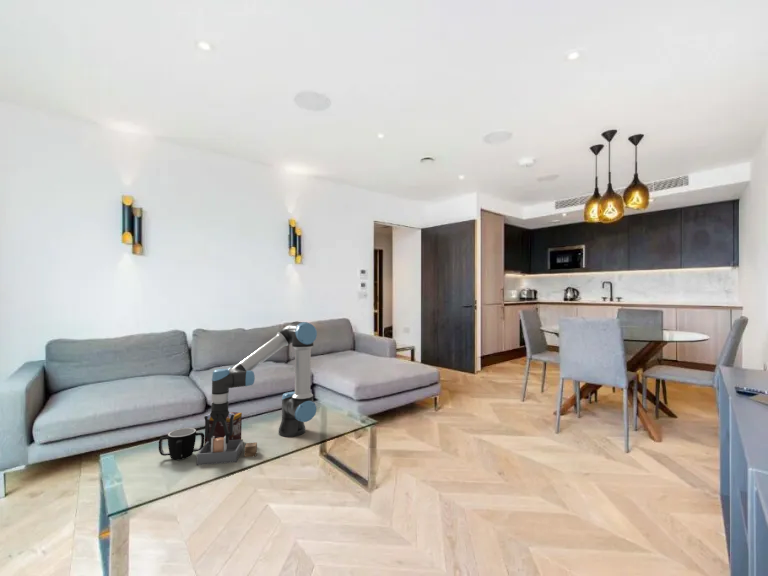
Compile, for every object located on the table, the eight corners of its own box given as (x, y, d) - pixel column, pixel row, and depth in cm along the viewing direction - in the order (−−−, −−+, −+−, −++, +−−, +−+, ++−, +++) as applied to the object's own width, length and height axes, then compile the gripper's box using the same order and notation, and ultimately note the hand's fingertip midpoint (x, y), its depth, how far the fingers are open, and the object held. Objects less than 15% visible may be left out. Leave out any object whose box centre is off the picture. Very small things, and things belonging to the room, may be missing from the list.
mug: (188, 447, 188) (188, 424, 189) (207, 454, 180) (207, 429, 181) (155, 459, 174) (156, 434, 175) (174, 467, 166) (174, 440, 166)
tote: (242, 449, 186) (242, 439, 186) (236, 462, 171) (236, 451, 171) (206, 451, 183) (206, 441, 183) (196, 465, 168) (196, 454, 168)
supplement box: (230, 448, 187) (230, 418, 187) (204, 446, 190) (204, 416, 190) (241, 441, 197) (242, 412, 197) (216, 439, 200) (217, 410, 200)
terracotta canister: (225, 451, 177) (225, 437, 177) (223, 455, 172) (223, 440, 172) (214, 452, 175) (214, 437, 176) (212, 456, 170) (212, 441, 171)
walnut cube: (256, 452, 183) (257, 442, 183) (255, 456, 178) (255, 446, 178) (246, 453, 182) (246, 443, 182) (244, 457, 177) (244, 447, 177)
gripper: (241, 398, 180) (240, 446, 179) (202, 400, 177) (201, 448, 176) (237, 403, 173) (236, 452, 172) (197, 404, 169) (196, 455, 168)
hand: (218, 450), depth 174 cm, fingers closed on terracotta canister, 5 cm apart
